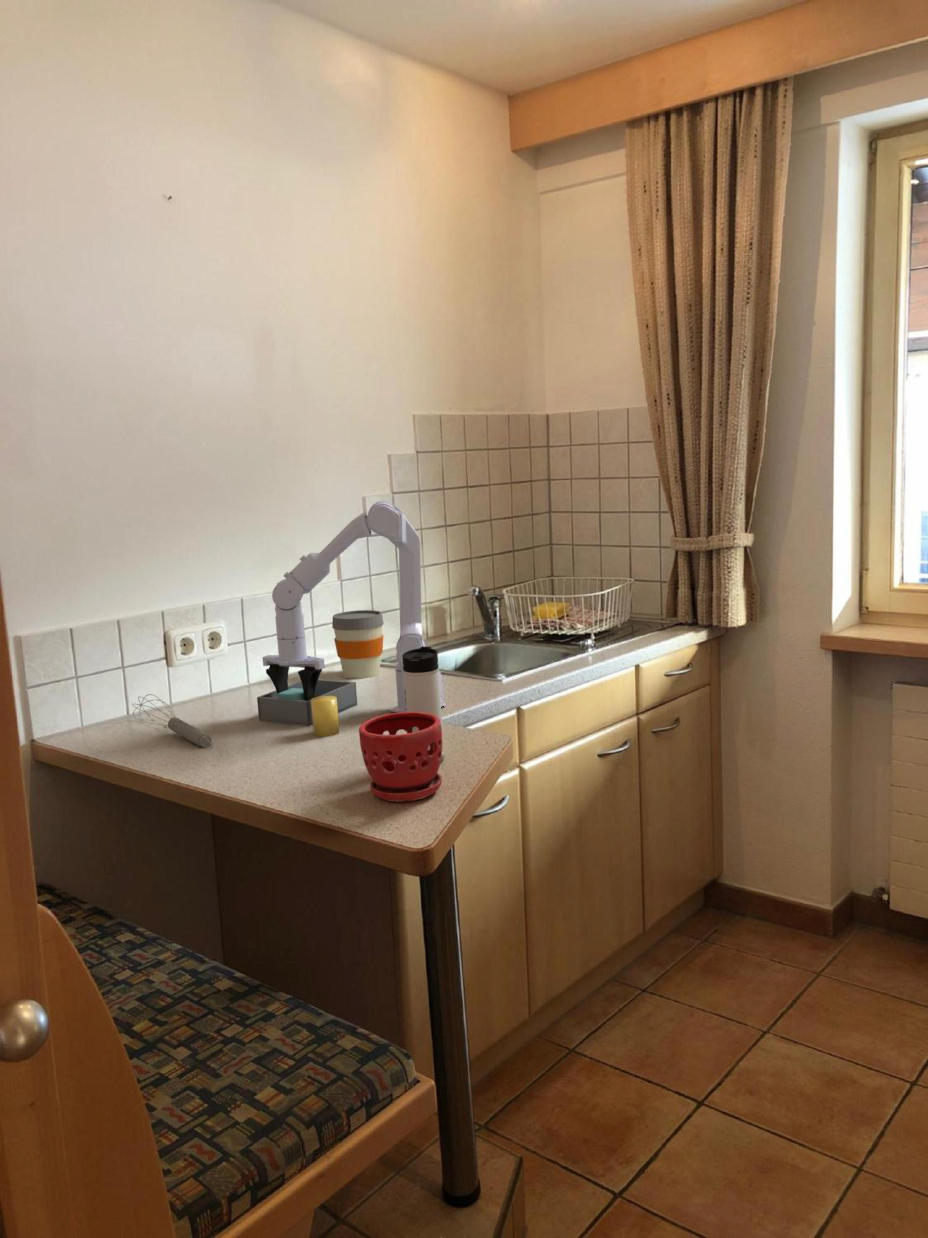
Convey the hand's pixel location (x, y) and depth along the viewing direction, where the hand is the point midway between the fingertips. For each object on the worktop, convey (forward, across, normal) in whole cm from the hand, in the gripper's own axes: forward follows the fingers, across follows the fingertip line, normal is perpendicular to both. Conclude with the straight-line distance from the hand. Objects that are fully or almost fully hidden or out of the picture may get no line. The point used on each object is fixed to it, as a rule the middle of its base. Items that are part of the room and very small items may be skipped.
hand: (296, 700), depth 214 cm
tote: (+4, 0, +4) cm, 5 cm away
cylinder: (+4, +13, -8) cm, 16 cm away
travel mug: (+4, +41, -17) cm, 45 cm away
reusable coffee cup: (+4, -9, +38) cm, 39 cm away
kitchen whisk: (+4, -18, -17) cm, 25 cm away
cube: (+3, 0, 0) cm, 3 cm away
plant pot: (+4, +46, -33) cm, 57 cm away
